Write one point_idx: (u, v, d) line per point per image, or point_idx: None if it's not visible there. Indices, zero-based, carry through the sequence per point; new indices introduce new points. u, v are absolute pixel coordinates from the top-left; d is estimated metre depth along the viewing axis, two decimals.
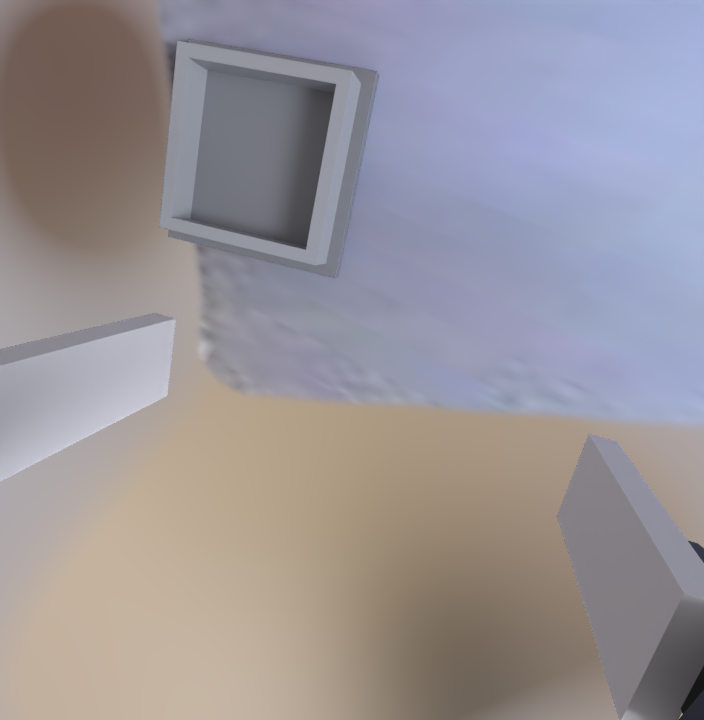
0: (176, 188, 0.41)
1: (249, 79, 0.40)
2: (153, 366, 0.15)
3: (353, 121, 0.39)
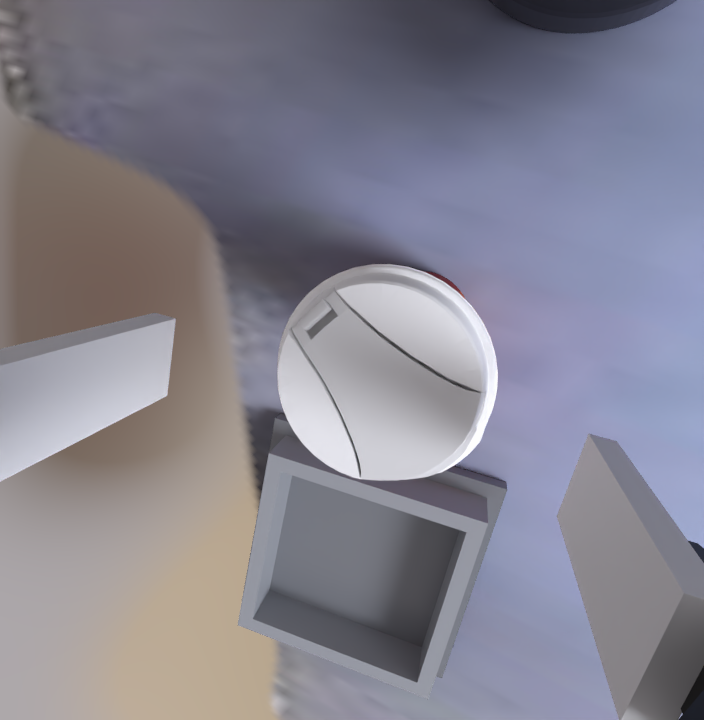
0: (259, 588, 0.35)
1: None
2: (153, 366, 0.15)
3: None
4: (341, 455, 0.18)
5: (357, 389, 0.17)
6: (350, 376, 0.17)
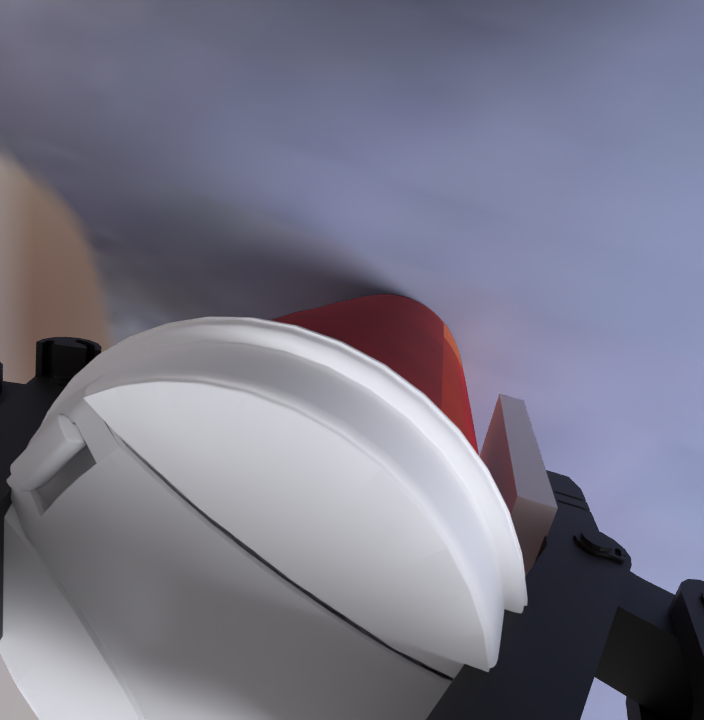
0: None
1: None
2: None
3: None
4: None
5: (163, 644, 0.07)
6: (144, 612, 0.07)
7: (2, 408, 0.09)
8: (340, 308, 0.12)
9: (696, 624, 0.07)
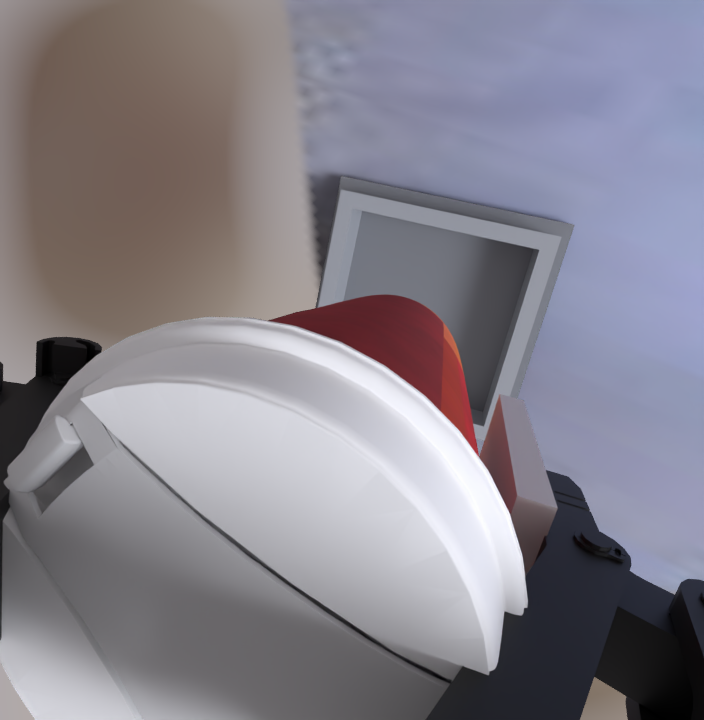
0: None
1: (413, 224, 0.34)
2: None
3: None
4: None
5: (161, 647, 0.07)
6: (142, 616, 0.06)
7: (2, 408, 0.09)
8: (340, 308, 0.12)
9: (696, 624, 0.07)
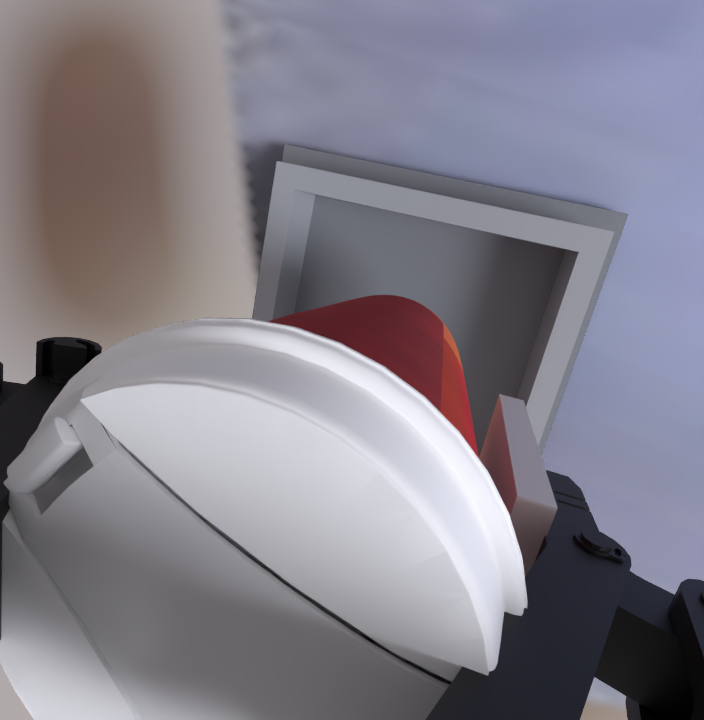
0: None
1: (389, 214, 0.24)
2: None
3: None
4: None
5: (161, 648, 0.07)
6: (142, 616, 0.06)
7: (2, 408, 0.09)
8: (339, 309, 0.12)
9: (696, 624, 0.07)
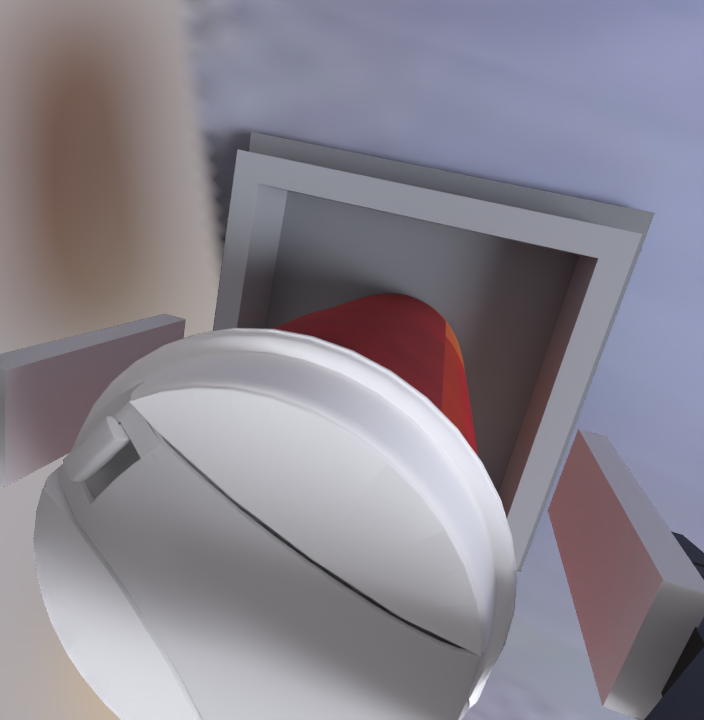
0: None
1: (372, 213, 0.20)
2: None
3: None
4: None
5: (198, 615, 0.08)
6: (182, 587, 0.07)
7: None
8: (348, 311, 0.13)
9: None
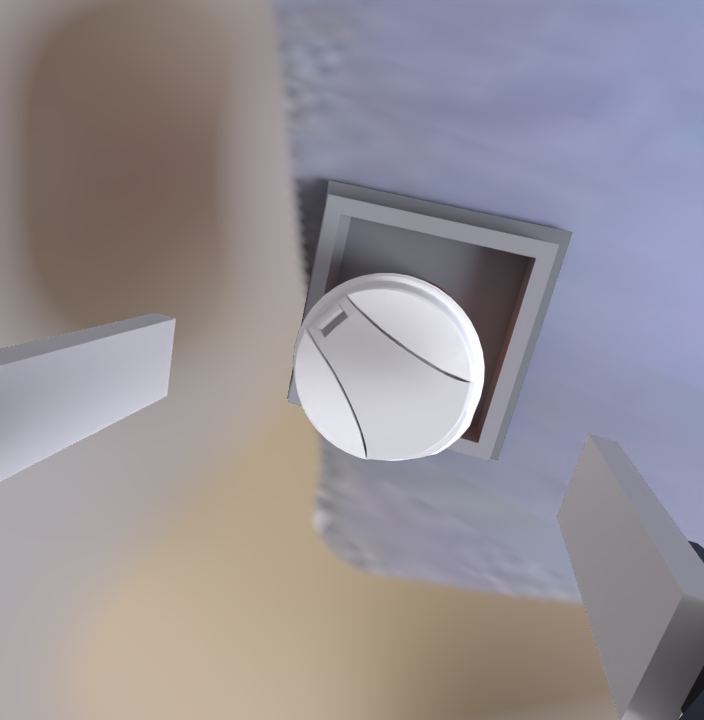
0: None
1: (404, 231, 0.33)
2: (153, 366, 0.15)
3: None
4: (349, 438, 0.21)
5: (364, 380, 0.20)
6: (359, 369, 0.20)
7: None
8: None
9: None
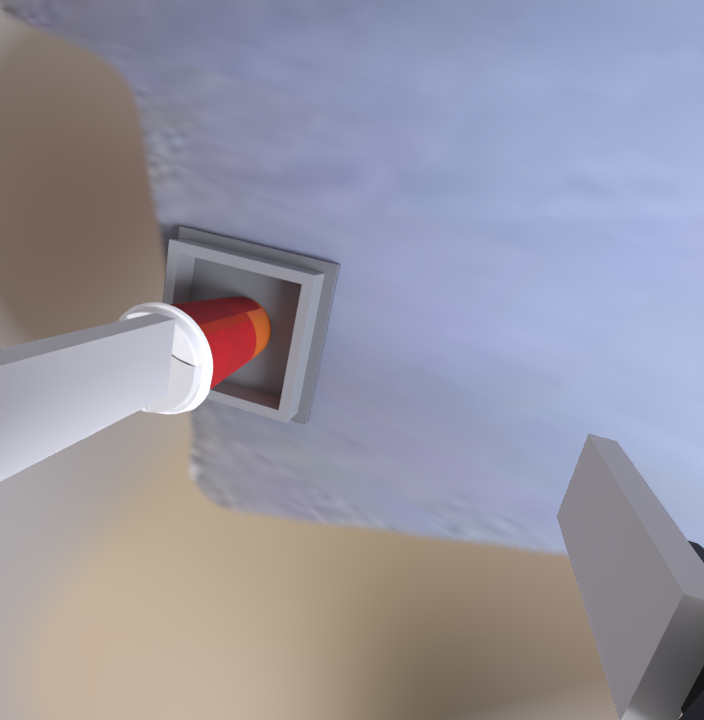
0: None
1: None
2: (153, 366, 0.15)
3: (319, 302, 0.46)
4: None
5: None
6: None
7: None
8: (198, 301, 0.39)
9: None
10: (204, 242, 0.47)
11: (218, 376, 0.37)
